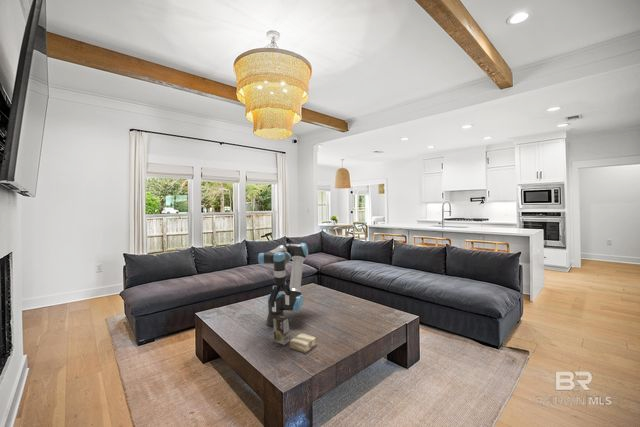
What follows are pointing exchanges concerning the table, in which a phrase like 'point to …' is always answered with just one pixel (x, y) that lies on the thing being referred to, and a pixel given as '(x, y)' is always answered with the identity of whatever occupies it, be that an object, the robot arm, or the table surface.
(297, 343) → the birch block
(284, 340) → the coffee box
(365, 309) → the table surface
